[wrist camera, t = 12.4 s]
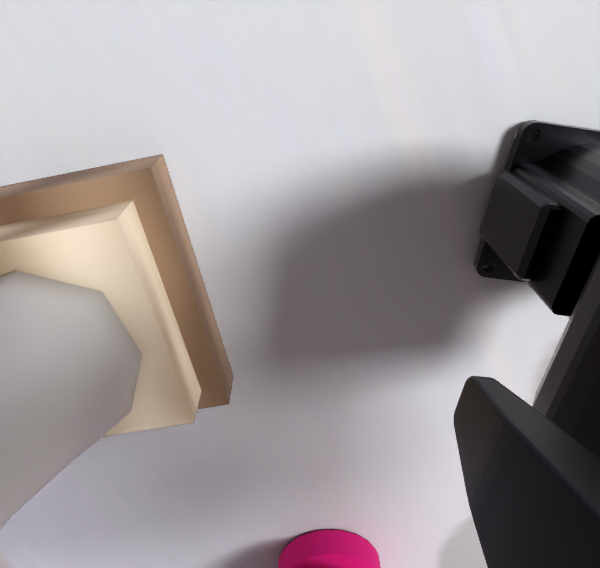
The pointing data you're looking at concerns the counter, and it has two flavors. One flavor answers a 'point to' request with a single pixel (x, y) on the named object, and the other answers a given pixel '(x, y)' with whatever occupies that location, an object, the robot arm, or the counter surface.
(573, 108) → the counter surface
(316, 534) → the pepper mill
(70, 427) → the flask
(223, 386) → the tower base
